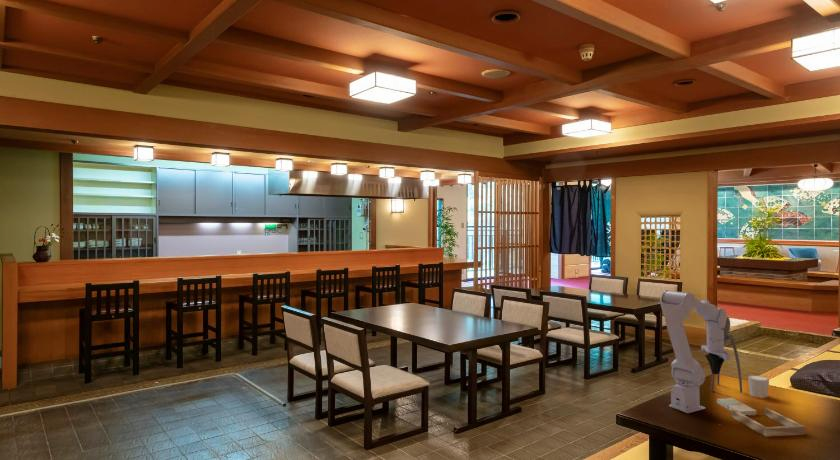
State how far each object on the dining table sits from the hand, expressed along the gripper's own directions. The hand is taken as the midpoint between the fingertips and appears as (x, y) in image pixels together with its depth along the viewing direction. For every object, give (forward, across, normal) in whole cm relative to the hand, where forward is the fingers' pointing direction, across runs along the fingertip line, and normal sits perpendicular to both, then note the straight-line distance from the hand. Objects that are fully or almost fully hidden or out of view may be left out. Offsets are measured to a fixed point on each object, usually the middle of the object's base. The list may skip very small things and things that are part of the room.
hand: (715, 373), depth 196 cm
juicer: (+10, +10, -10) cm, 17 cm away
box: (+9, -26, 0) cm, 27 cm away
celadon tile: (+10, -8, 0) cm, 13 cm away
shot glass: (+10, 0, -17) cm, 20 cm away
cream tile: (+10, -14, 0) cm, 18 cm away
